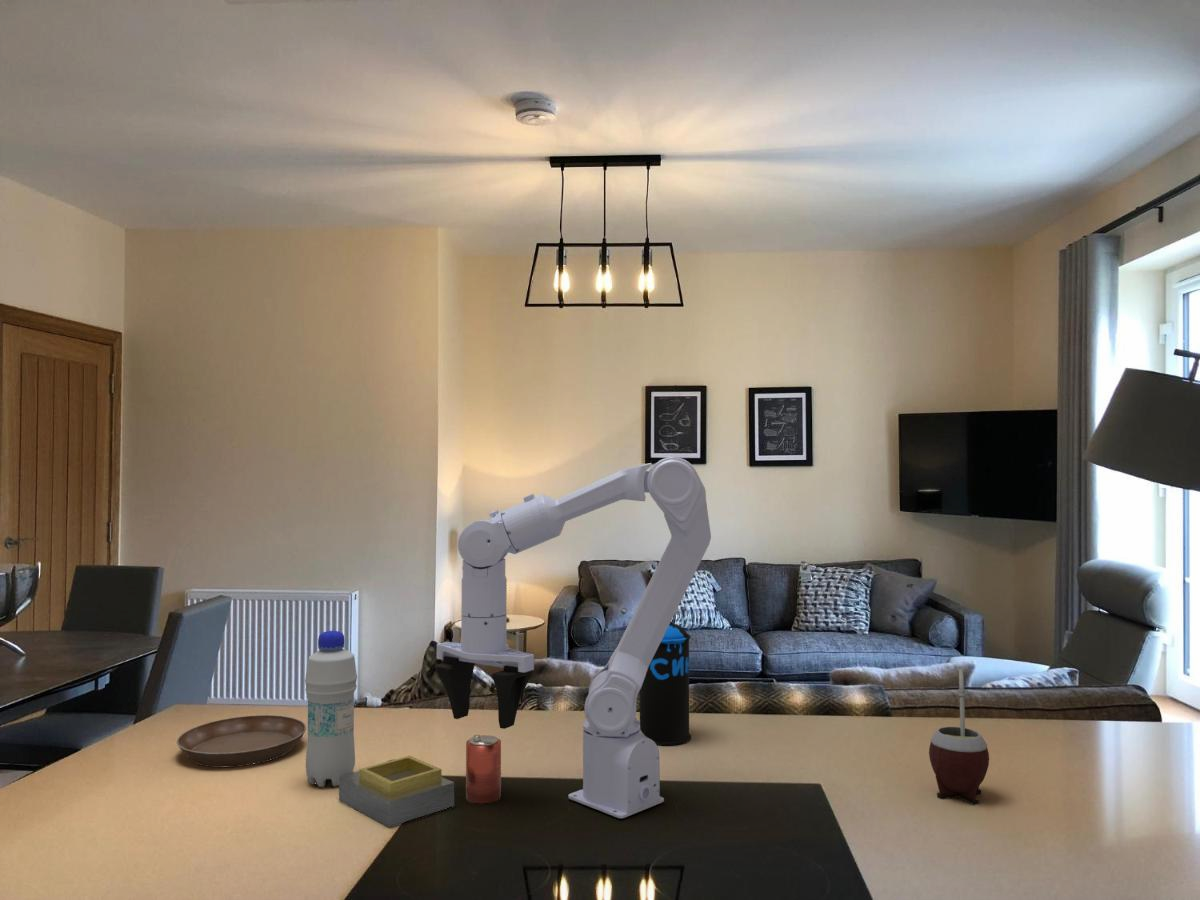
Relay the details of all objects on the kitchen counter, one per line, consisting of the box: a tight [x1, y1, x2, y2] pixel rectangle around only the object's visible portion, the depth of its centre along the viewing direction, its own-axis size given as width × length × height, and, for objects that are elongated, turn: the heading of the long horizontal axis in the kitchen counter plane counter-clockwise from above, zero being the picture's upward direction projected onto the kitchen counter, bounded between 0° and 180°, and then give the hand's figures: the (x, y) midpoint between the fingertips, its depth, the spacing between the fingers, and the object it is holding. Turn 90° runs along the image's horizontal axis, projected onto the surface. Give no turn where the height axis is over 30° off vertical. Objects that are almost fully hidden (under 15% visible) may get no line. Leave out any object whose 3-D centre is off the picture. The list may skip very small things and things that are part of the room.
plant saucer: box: [176, 714, 307, 767], centre depth 128 cm, size 18×18×3 cm
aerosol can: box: [639, 621, 692, 747], centre depth 135 cm, size 8×8×20 cm
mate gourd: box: [928, 668, 990, 806], centre depth 111 cm, size 8×8×15 cm
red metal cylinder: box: [465, 734, 502, 805], centre depth 110 cm, size 4×4×8 cm
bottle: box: [304, 630, 358, 788], centre depth 116 cm, size 7×7×20 cm
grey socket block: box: [338, 755, 455, 829], centre depth 108 cm, size 14×9×4 cm, turn 45°
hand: (483, 721), depth 110 cm, fingers open, 7 cm apart
